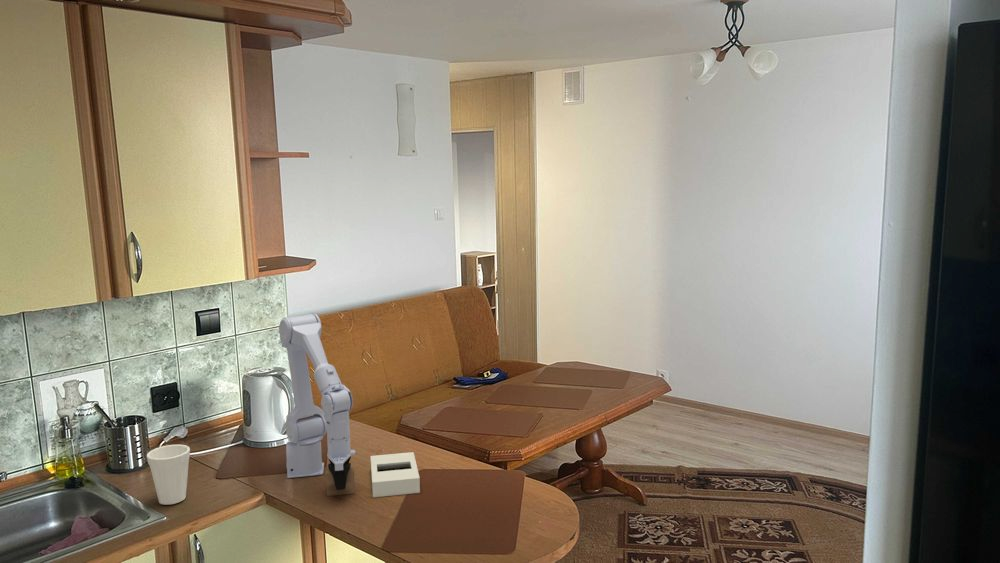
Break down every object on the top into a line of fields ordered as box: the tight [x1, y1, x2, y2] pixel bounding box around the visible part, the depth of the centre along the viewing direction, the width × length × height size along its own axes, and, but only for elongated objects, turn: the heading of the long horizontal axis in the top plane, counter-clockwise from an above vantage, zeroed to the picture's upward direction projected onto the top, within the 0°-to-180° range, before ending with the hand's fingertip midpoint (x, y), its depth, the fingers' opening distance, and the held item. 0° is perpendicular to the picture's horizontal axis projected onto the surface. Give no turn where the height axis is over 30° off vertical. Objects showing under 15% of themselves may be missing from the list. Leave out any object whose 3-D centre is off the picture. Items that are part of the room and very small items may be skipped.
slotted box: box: [370, 451, 421, 498], centre depth 189 cm, size 12×18×4 cm, turn 12°
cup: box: [146, 444, 191, 505], centre depth 178 cm, size 10×10×13 cm
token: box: [325, 466, 356, 497], centre depth 182 cm, size 7×3×6 cm, turn 102°
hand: (340, 486), depth 182 cm, fingers closed on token, 3 cm apart
